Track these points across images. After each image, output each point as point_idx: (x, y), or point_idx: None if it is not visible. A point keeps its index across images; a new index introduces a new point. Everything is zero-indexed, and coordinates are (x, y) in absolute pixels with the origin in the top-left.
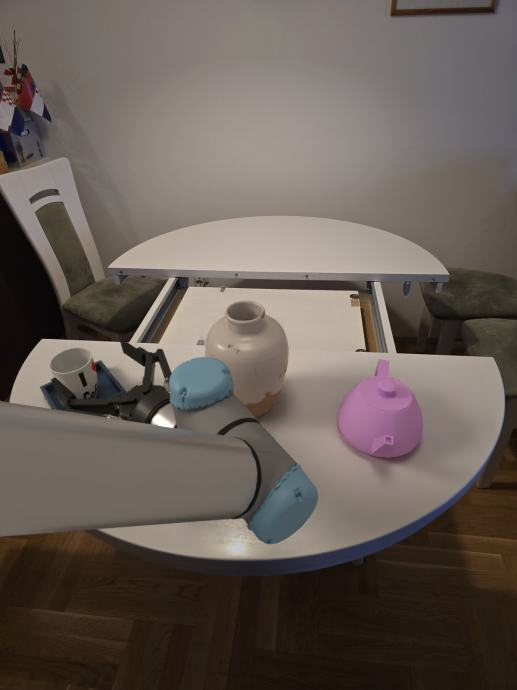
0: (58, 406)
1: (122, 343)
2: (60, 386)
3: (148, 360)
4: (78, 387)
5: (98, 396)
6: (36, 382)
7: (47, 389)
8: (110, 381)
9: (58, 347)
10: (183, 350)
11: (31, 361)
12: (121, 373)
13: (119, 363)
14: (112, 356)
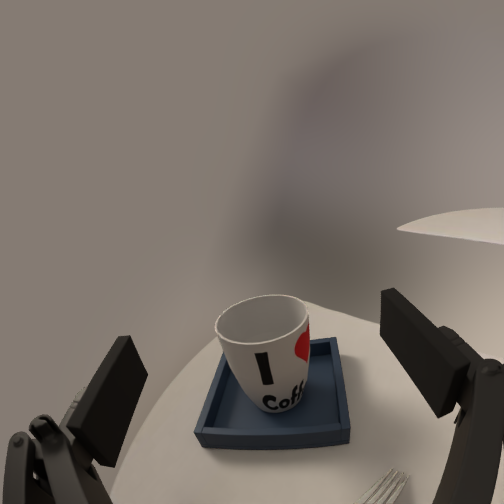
0: (228, 393)
1: (387, 299)
2: (100, 370)
3: (486, 409)
4: (252, 381)
5: (297, 408)
6: None
7: None
8: (334, 385)
9: None
10: (482, 355)
11: None
12: (361, 374)
13: (366, 352)
14: (359, 336)
